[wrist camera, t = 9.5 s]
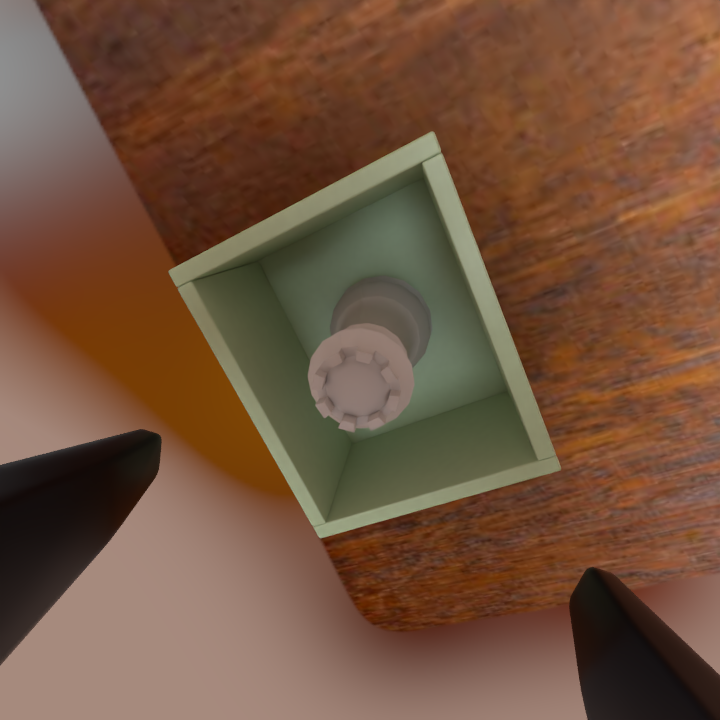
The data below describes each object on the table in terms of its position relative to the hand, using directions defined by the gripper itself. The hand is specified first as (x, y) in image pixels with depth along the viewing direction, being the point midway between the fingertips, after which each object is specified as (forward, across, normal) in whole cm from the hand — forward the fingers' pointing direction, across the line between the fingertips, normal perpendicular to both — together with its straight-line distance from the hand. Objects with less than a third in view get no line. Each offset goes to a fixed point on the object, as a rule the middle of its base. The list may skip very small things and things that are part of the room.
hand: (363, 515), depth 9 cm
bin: (+12, +1, -1) cm, 13 cm away
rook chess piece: (+12, +1, -1) cm, 12 cm away
